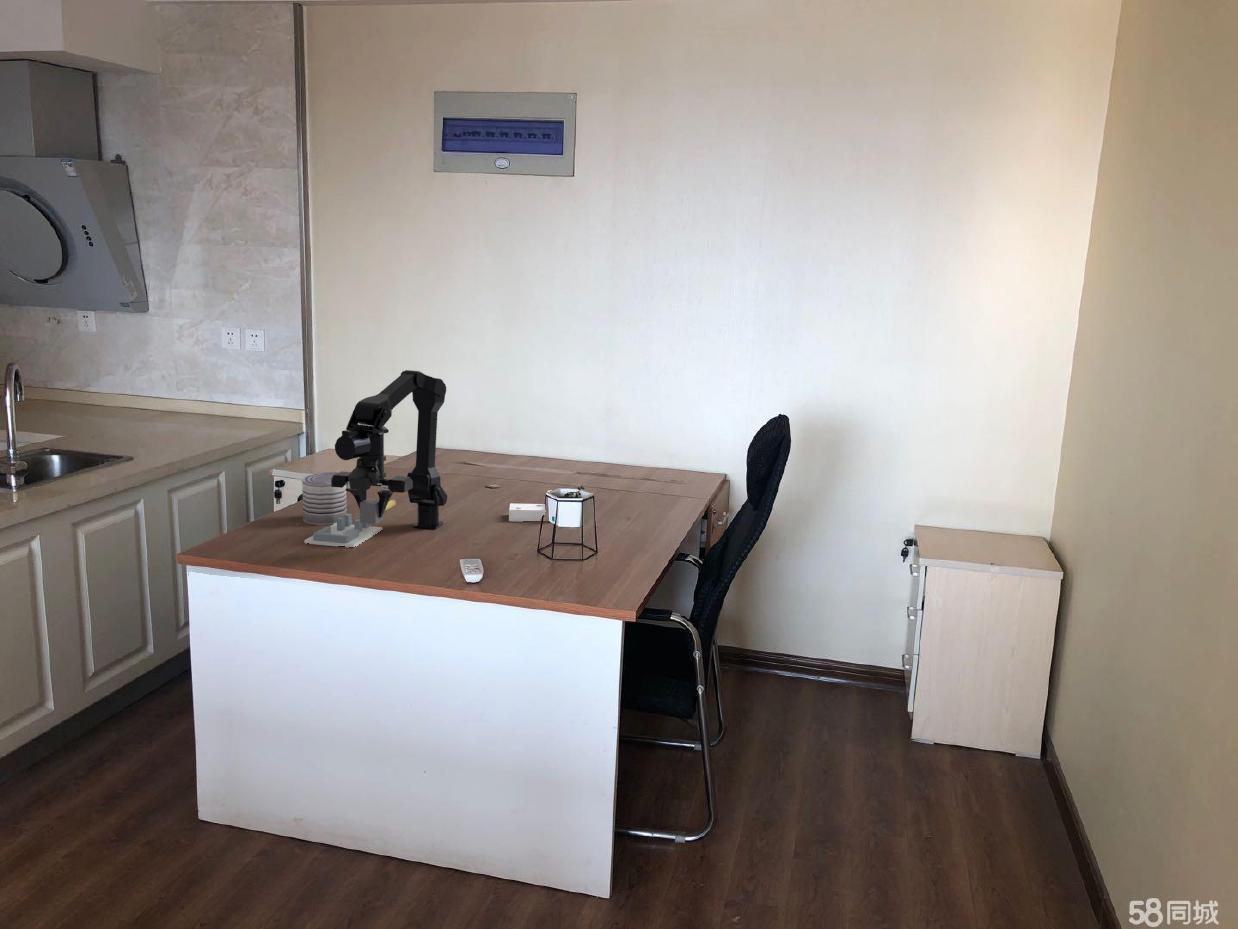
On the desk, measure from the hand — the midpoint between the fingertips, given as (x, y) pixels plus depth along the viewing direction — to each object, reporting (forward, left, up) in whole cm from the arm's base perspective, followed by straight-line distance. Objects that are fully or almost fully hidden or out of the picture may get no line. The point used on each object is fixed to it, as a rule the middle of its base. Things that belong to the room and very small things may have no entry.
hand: (372, 516), depth 238 cm
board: (-8, -11, -8) cm, 16 cm away
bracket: (-41, +29, -9) cm, 51 cm away
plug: (-5, 0, -1) cm, 6 cm away
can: (-21, -23, -8) cm, 32 cm away
